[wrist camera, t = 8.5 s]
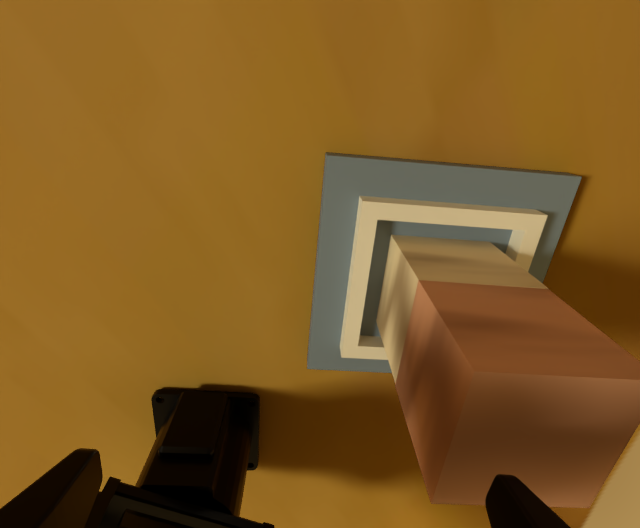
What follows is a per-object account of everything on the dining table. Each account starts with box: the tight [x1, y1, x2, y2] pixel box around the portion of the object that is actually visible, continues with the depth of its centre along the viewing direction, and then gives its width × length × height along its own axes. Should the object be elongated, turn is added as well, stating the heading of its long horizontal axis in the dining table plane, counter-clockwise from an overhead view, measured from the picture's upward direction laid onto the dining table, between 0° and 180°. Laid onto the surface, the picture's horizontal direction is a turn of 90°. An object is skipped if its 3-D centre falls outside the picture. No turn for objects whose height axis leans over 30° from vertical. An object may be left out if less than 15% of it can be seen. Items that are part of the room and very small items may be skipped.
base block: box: [376, 235, 549, 384], centre depth 17 cm, size 5×5×5 cm
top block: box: [395, 280, 640, 508], centre depth 13 cm, size 5×5×5 cm
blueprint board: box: [307, 152, 582, 373], centre depth 19 cm, size 12×12×2 cm
